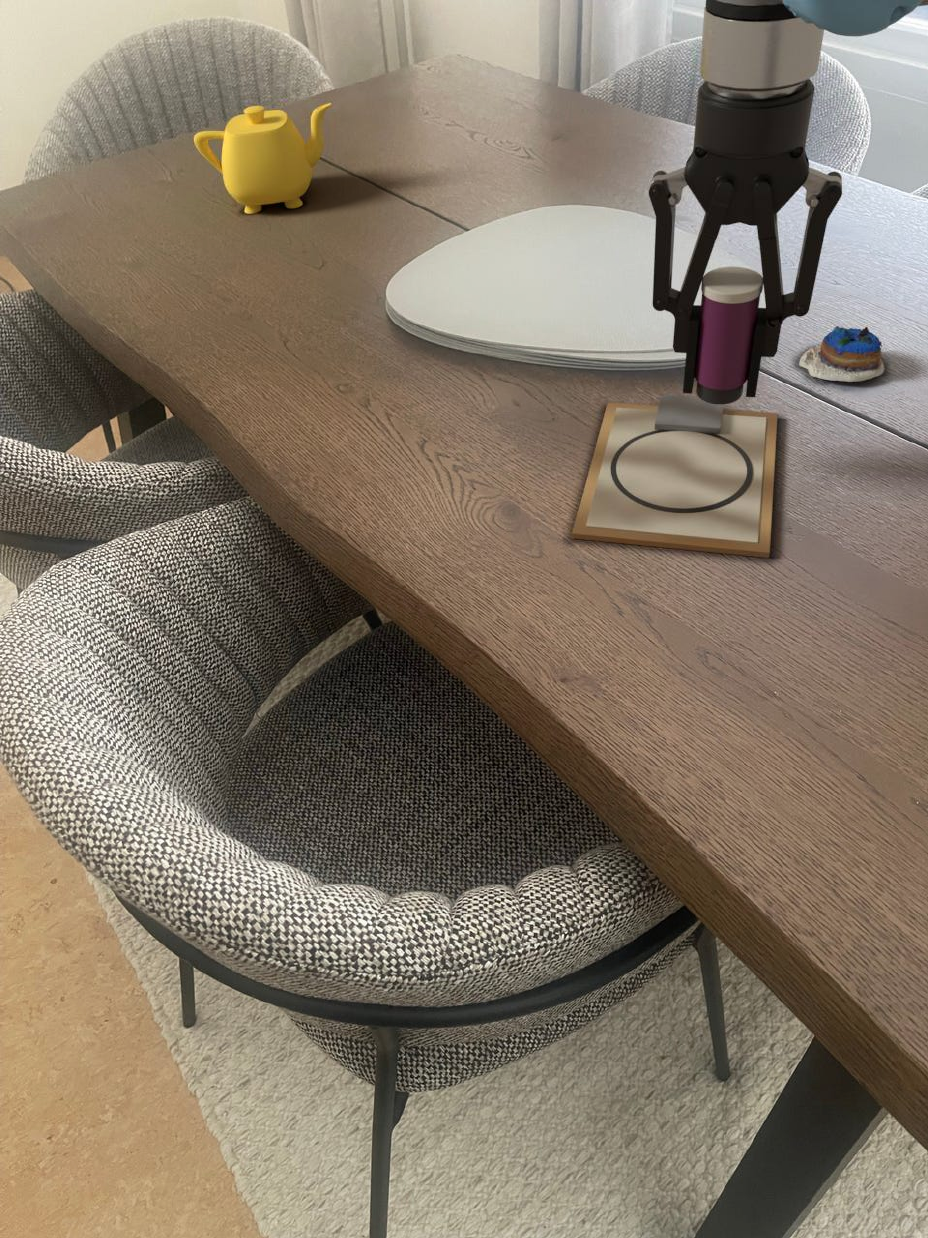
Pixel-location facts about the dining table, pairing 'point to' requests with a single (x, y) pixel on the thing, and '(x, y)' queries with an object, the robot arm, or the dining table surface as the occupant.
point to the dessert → (845, 356)
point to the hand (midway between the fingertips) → (719, 385)
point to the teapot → (265, 157)
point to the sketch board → (682, 478)
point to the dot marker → (726, 332)
